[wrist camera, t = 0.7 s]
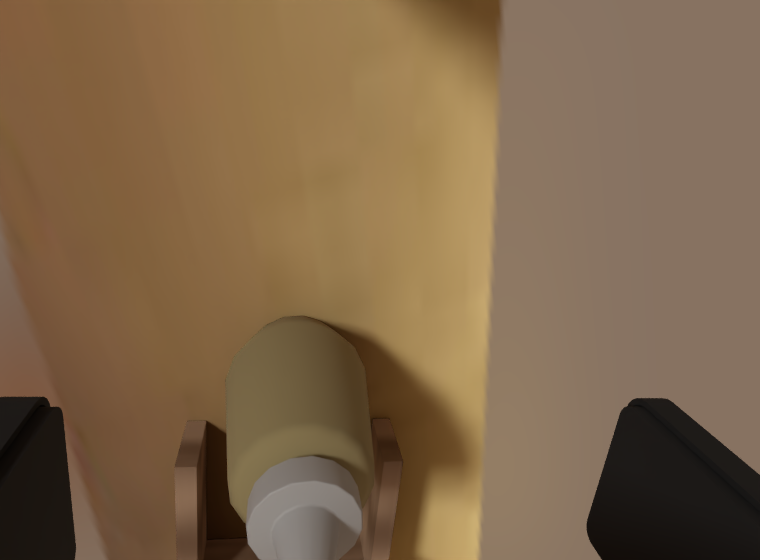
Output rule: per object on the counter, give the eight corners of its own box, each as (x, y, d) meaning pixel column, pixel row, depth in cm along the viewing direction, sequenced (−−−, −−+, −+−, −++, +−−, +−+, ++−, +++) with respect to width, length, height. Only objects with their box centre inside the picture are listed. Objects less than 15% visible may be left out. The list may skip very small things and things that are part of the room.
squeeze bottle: (369, 391, 36) (443, 655, 20) (250, 423, 36) (226, 723, 19) (343, 283, 33) (406, 488, 17) (213, 315, 33) (146, 562, 16)
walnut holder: (186, 420, 35) (158, 528, 27) (389, 418, 38) (420, 515, 29) (189, 554, 39) (164, 684, 30) (373, 543, 41) (396, 660, 33)
